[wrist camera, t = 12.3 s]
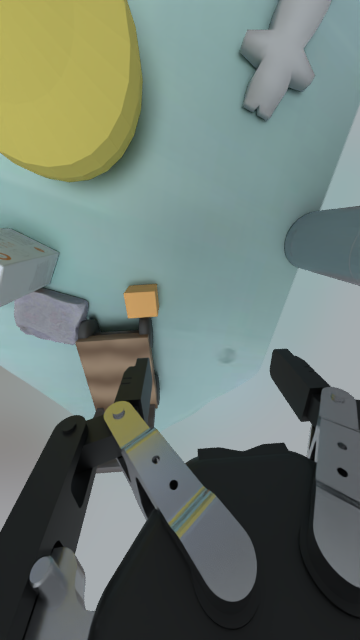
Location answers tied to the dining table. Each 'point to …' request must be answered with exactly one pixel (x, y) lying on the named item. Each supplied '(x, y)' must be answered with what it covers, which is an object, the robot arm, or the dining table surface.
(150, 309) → the block
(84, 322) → the trolley
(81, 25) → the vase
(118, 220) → the dining table surface
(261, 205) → the dining table surface
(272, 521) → the robot arm
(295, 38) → the bunny figurine
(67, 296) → the stone block
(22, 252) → the small box
